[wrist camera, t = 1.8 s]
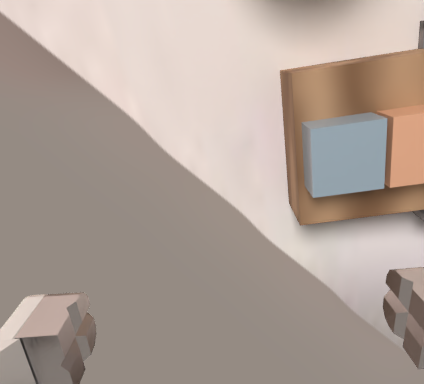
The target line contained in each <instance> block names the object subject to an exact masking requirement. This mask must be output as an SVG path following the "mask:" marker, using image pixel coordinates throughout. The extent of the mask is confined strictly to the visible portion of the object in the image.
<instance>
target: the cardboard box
mask: <svg viewBox="0 0 424 384" xmlns="http://www.w3.org/2000/svg"><path fill="white" fill-rule="evenodd" d="M280 77H281V92H282V106H283V121H284V135H285V150H286V164H287V179H288V193H289V204H290V206H291V208H292V210H293V212H294V214H295V216H296V218H297V220H298V222H299V224H300V225H307V224H315V223H323V222H330V221H338V220H346V219H354V218H362V217H370V216H378V215H385V214H393V213H401V212H409V211H417V210H424V183H423V184H415V185H407V186H400V187H392V188H390V187H388V186H387V185H386V184H384V189H377V190H370V191H362V192H354V193H347V194H339V195H332V196H324V197H317V198H313V197H312V196H311V194H310V193H309V191H308V190H307V188H306V187H305V185H304V165H303V144H302V124H301V122H307V121H314V120H321V119H328V118H335V117H342V116H348V115H355V114H362V113H369V112H372V113H375V114H377V111H383V110H389V109H396V108H403V107H410V106H417V105H424V49H414V50H408V51H402V52H395V53H389V54H383V55H376V56H370V57H363V58H357V59H351V60H344V61H338V62H332V63H325V64H319V65H312V66H306V67H300V68H293V69H287V70H281V71H280Z"/></svg>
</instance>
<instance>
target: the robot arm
mask: <svg viewBox="0 0 424 384" xmlns="http://www.w3.org/2000/svg"><path fill="white" fill-rule="evenodd" d="M386 284H387V285H388V287H389V288H390V290H389V292H388V293H387V294H386V295H385V296H384V301H383V310H384V315H385V319H386V321H387V323H388V326H389V327H390V329H391V330H392V332H393V333H394V334H396V335H398V336H399V337H401V338H403V339H404V342H403V348H404V349H405V351H406V352H407V354H408V355H409V356H410V358H411V359H412V361H413V362H414V363H415V365H416V367H417V368H418V369H424V267H418V268H406V269H394V270H389V272H388V274H387V277H386ZM89 307H90V302H89V299H88V295H87V294H85V293H84V292H80V293H63V294H48V295H45V294H44V295H31V296H28V297H26V298H24V300H23V301H22V302H21V303H20V305H19V306H18V307H17V309H16V310H15V311H14V313H13V314H12V315H11V316H10V318H9V319H8V320H7V321H6V323H5V324H4V325H3V327H2V328H1V329H0V384H80V381H81V379H82V376H83V374H84V371H85V366H84V363H83V361H84V360H86V359H87V358H88V357H89V356H90V355H91V353H92V351H93V348H94V346H95V339H96V325H95V321H94V318H93V317H92V316H91V315H90V314H89V313H87V311H88V309H89Z"/></svg>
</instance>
